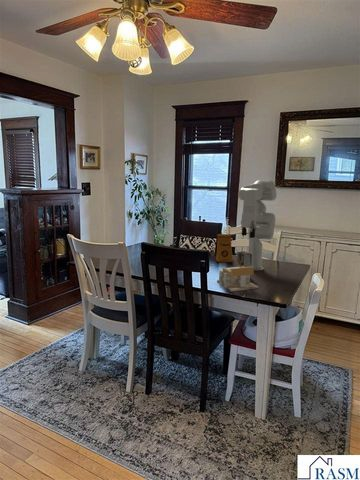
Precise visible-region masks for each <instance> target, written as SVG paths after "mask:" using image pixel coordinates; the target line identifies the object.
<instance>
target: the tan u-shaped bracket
mask: <svg viewBox="0 0 360 480" xmlns="http://www.w3.org/2000/svg"><path fill="white" fill-rule="evenodd" d="M226 268H227V267H222V270H223V271H224V272H226V273H227V274H229V275H231V276H241V275H251V276H252V275H254V274H255V273H254V272H255V270H254V267H253V266H251V267H244V266H241V267H240V268H233V267H230V268H231V271H230V270H228V269H226Z"/></svg>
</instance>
